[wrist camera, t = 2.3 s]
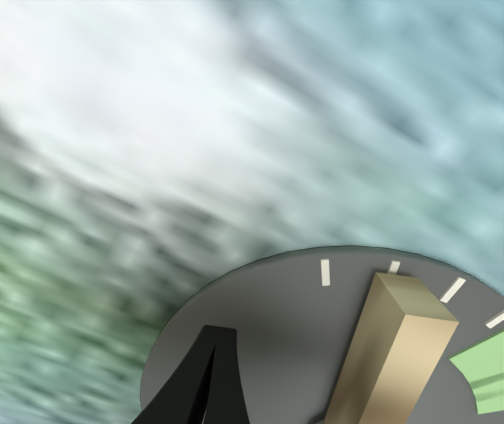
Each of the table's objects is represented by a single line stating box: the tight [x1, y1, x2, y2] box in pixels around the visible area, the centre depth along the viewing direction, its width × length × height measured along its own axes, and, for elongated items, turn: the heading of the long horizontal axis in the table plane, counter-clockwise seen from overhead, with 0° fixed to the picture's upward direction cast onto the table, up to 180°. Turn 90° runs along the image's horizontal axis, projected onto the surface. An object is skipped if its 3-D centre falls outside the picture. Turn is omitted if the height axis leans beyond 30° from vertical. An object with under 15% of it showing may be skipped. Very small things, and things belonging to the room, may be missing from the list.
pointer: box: [316, 272, 459, 424], centre depth 10 cm, size 11×3×2 cm, turn 173°
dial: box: [140, 246, 504, 424], centre depth 14 cm, size 21×21×1 cm
